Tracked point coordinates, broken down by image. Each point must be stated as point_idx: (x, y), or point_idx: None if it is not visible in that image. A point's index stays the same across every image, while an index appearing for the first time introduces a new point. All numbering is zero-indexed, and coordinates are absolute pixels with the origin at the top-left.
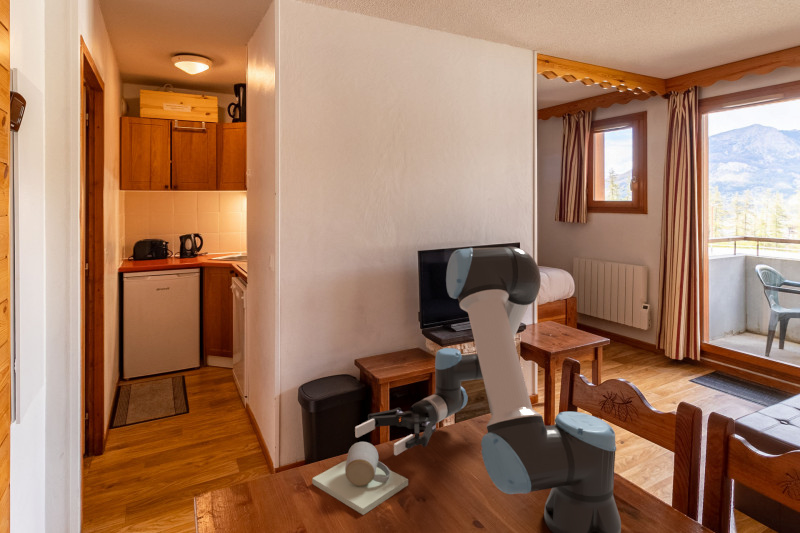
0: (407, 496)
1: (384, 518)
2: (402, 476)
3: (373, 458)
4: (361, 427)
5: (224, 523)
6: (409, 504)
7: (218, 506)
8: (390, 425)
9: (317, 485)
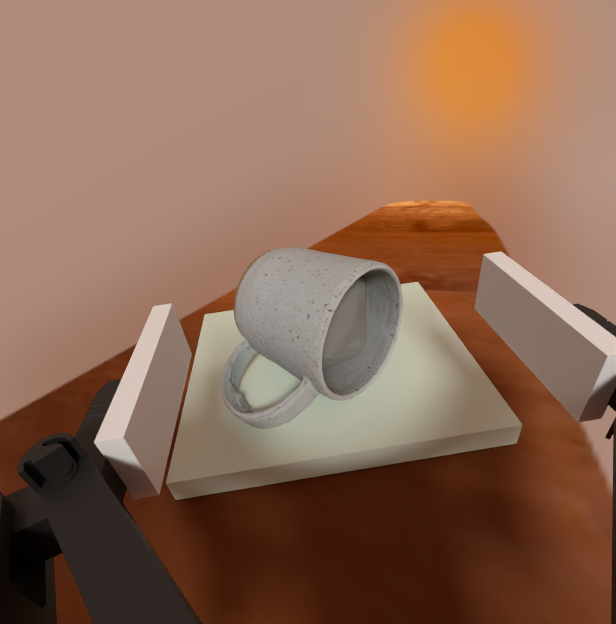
0: None
1: None
2: (202, 477)
3: (262, 306)
4: (502, 282)
5: (379, 212)
6: None
7: (433, 210)
8: (612, 573)
9: None
